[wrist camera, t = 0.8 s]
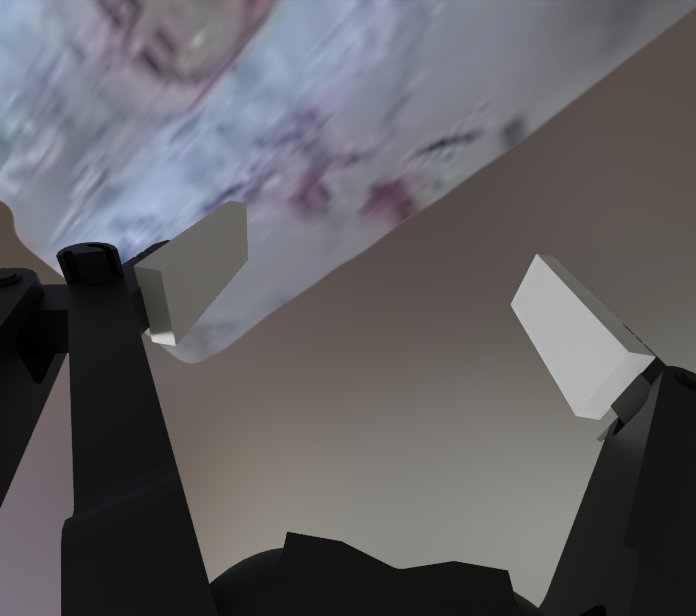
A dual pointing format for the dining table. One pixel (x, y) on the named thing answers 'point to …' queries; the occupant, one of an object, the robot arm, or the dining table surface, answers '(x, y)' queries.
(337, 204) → the dining table surface
